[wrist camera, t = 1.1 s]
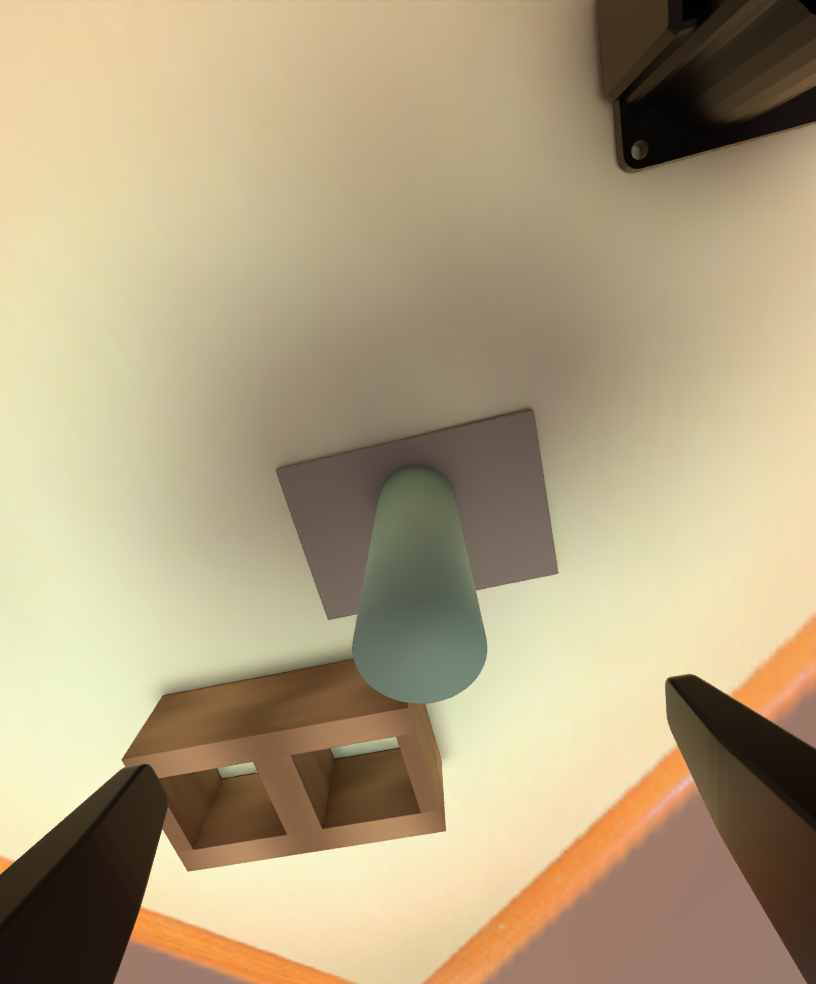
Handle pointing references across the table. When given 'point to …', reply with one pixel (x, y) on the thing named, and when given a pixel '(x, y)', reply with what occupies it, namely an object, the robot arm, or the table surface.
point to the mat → (478, 493)
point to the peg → (418, 594)
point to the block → (290, 767)
